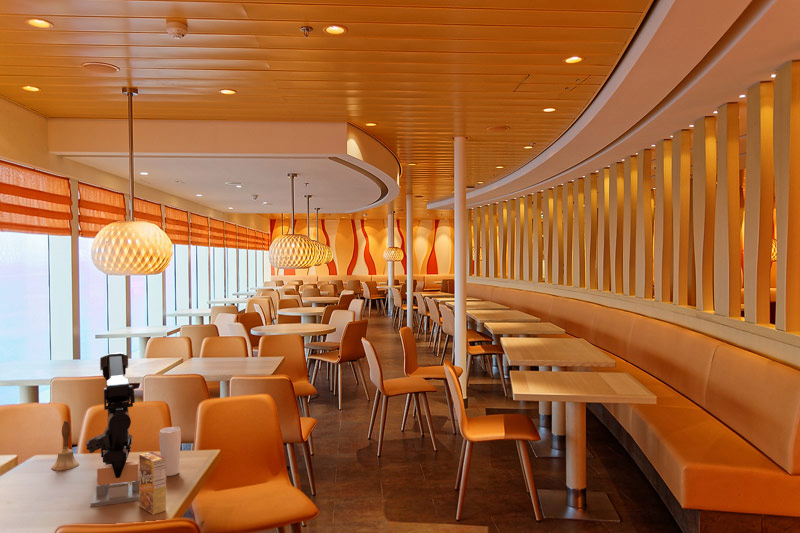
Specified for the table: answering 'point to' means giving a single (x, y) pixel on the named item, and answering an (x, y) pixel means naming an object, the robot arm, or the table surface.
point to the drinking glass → (170, 448)
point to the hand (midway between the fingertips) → (118, 475)
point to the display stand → (116, 493)
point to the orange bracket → (108, 476)
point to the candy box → (152, 482)
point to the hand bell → (65, 452)
